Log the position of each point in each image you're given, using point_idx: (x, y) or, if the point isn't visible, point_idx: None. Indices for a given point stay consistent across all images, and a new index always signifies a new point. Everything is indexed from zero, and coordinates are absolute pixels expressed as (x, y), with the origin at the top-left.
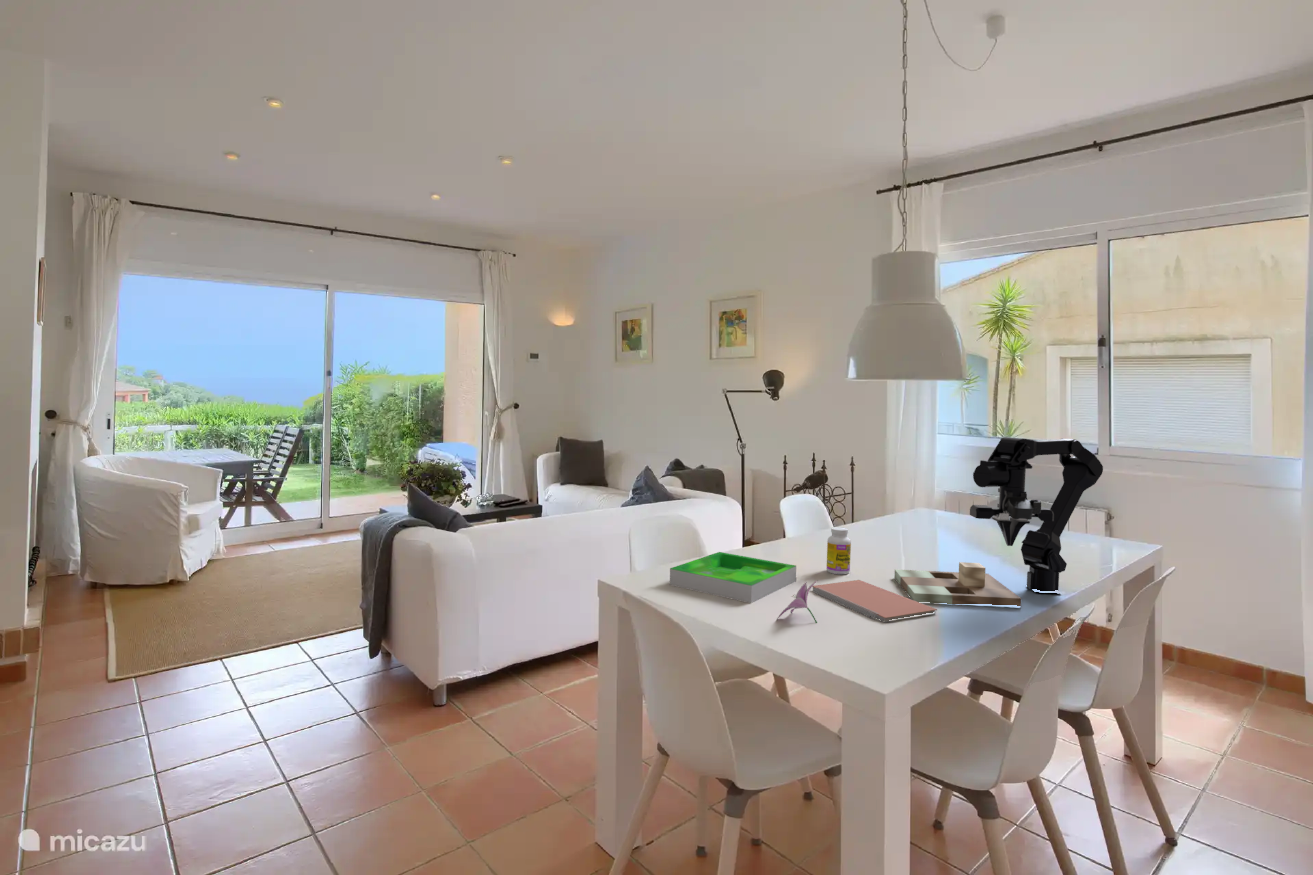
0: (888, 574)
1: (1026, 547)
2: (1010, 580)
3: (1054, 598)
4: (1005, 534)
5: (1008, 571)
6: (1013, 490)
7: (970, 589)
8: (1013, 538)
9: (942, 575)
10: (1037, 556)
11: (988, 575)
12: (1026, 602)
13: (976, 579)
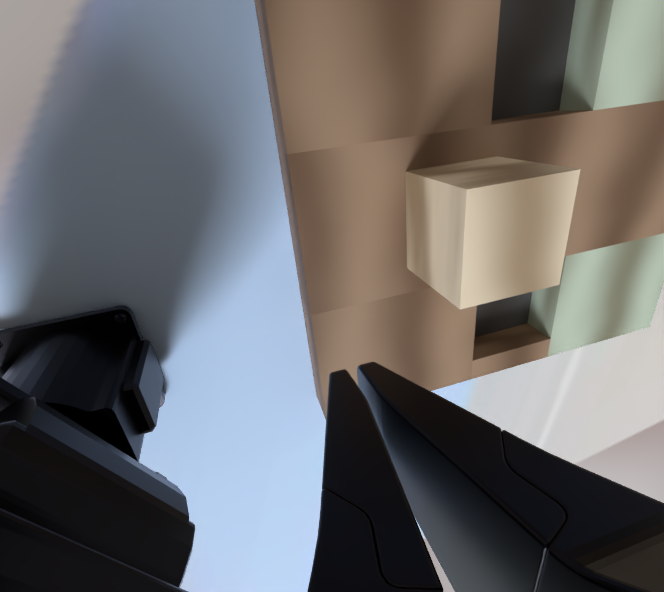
0: (615, 348)
1: (151, 544)
2: (218, 462)
3: (28, 252)
4: (491, 432)
5: (208, 567)
6: None
7: (492, 87)
8: (357, 420)
9: (498, 345)
10: (64, 434)
11: None
12: (194, 112)
13: (467, 168)
